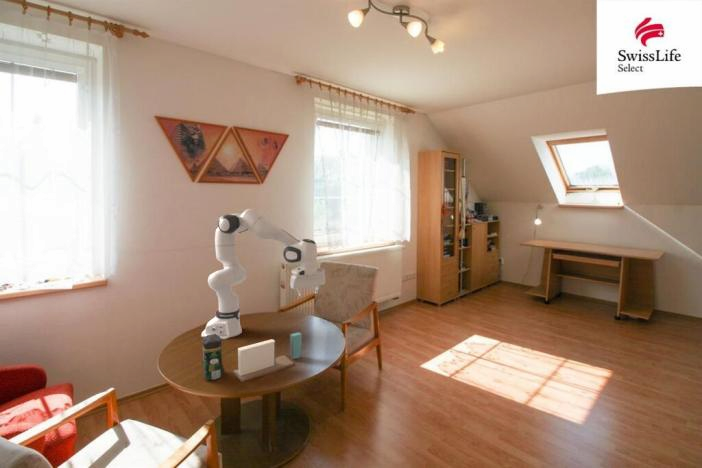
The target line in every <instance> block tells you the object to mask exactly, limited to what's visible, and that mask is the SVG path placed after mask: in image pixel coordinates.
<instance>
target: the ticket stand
mask: <svg viewBox="0 0 702 468" xmlns="http://www.w3.org/2000/svg"><path fill="white" fill-rule="evenodd" d="M237 364H238V365H237V366H238V367H237V368H238V369H233V374H234V375H235V376H236V378H238V380H239V381H240V382H241V383H243V382H246V381H249V380H252V379H255V378H258V377H261V376H264V375H265V376H266V375H267V374H270V373H274V372H277V371H280V370H283V369H286V368H288V367H289V368H290V367H292V366H294V365H295V364H294V362H293V361H292V360H291V359H289V358H288V357H287V356H286V355H285V354H284V355H280V356H277V357H276V341H275V340H274V338H273V339H268V340H264V341H259V342H257V343H251V344H249V345H244V346H241V347H238V348H237Z"/></svg>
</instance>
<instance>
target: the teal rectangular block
mask: <svg viewBox="0 0 702 468" xmlns="http://www.w3.org/2000/svg"><path fill="white" fill-rule="evenodd" d="M302 335H303V334H302V333H301V332H299V331H298V332H294V333H290V334H289V358H291V359H292V360H293V359H296V358H297V359H298V358H300V357H302V347H303V346H302V339H303V338H302Z"/></svg>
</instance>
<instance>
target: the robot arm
mask: <svg viewBox="0 0 702 468" xmlns="http://www.w3.org/2000/svg"><path fill="white" fill-rule="evenodd" d="M217 221H218V222H217V228H216V230H215V233H214V247H215V258H216V260H217V261H218V262H220V263H221V264H222V266H223V269H219V270H216V271H214V272H212V273H210V275H208V278H207V284H208V286H209V288H210V289H211V290H213V291H214V292H215V294H216V296H217V300H218V308H217V309H216V310H215V312H214V315H215V316H214V317H213V318H212V319H210V320H209V321H208V322H207V324H206V325H205V329H204V330H203V331H202V332H201V338H205V337H206V336H207V335H212V334H216V335H218V336H220V338H221V340H227V339H229V338H233V337H236V336H239V335H240V334H242V332H243V330H242V326H241V322H240V318H241V312H240V308H239V306H240V305H239V304H240V303H239V295H238V294H237V293H235V292H234V290H233V286H236V285H239V284H241V283H242V282H244V281H245V280H246V279H247V275H248V273H247V269H246V268H245V267H244V266H242V265H241V264H240V262H239V259H238V255H237V246H236V235H237V234H241V233H243V232H246V231H248V230H249V231H250V233H252V234H253V235H255V236H256V237H258V238H260V239H262V240H275V241H278V242H280V243H282V244H283V245H284V246H286V247H285V248H284V249H283V253H282V254H283V259H284V260H285V261H286V262H287V263H288V264H289V263H291V264H294V263H299V264H300V265H299V266H297V267H296V268H293V269H292V270H291V274H292V275H291V277H290V281H289V283H290V284H289V285H290V286H289V287H290V288H291V289H292V290H296V291H297V292H298V296H299V297H303V296H304V293H303V292H301V291H302V289H306V288H311V287H315V289H313V293H314V294H315V295H317V294H318V293H319V289H320V286H322V285H323V286H324V285H325V284H326V282H327V281H326V270H325V268H323V267H319V268H318V262H317V258H318V247H317V243H316V241H315V240H313V239H311V238H303V239H301V240H299V239H297V238H295V237H294V236H293V235H291V234H290V233H288V232H287V231H285V230H284V229H282V228H280V226H278V225H276V224H275V223H273V222H272V221H271V220H270V219H268V218H267V217H266V216H265V215H263V214H262V213H260V212H259V211H257V210H255V209H253V208H248V209H245V210H244V211H243V212H241V213H240V212H234V213H230V214H224V215H222V216H221V217H219V219H218V220H217Z"/></svg>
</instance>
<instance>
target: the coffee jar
mask: <svg viewBox="0 0 702 468" xmlns="http://www.w3.org/2000/svg"><path fill="white" fill-rule="evenodd" d="M222 349H223V348H222V339H221V338H220V336H218V335H216V334H212V335H207V336H206V337H203V339H202V361H203V363H202V365H203V364H204V367H203V376H204V379H205V380H206V381H215V380H219V379H221V378H222V376H223V372H222V368H223V353H222V352H223V351H222Z"/></svg>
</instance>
